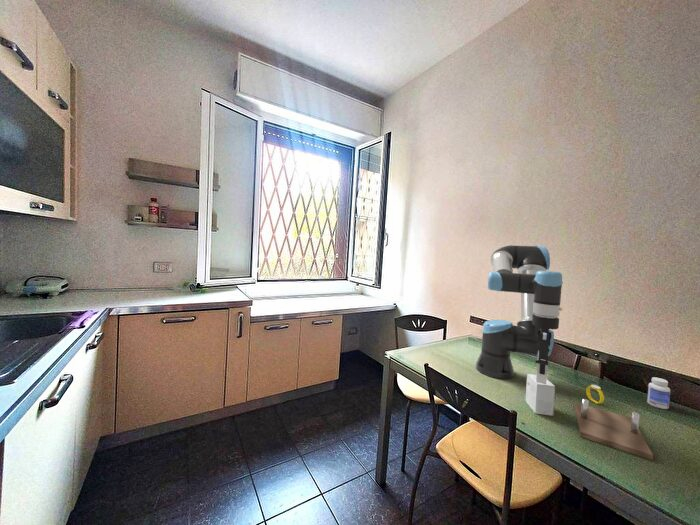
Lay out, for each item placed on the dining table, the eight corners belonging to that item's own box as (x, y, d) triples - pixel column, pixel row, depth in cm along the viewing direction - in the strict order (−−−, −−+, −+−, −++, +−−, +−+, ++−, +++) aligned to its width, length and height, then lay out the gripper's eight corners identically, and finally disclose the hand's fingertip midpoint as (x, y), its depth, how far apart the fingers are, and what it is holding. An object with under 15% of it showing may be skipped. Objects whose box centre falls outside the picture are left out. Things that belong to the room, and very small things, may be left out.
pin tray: (580, 436, 82) (582, 412, 82) (574, 406, 99) (575, 385, 98) (652, 460, 74) (655, 433, 73) (632, 422, 90) (634, 400, 90)
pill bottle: (672, 411, 98) (675, 384, 97) (653, 407, 100) (655, 381, 99) (661, 402, 103) (664, 377, 102) (643, 399, 105) (645, 375, 104)
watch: (604, 406, 100) (607, 391, 99) (597, 406, 99) (600, 391, 99) (590, 396, 105) (592, 382, 105) (583, 396, 105) (585, 382, 105)
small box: (553, 416, 92) (555, 386, 91) (534, 413, 93) (537, 384, 93) (541, 403, 100) (544, 375, 99) (524, 401, 101) (527, 373, 100)
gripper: (561, 324, 82) (556, 393, 83) (557, 311, 103) (553, 366, 104) (531, 320, 86) (526, 385, 87) (533, 308, 107) (529, 361, 108)
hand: (541, 375), depth 96 cm, fingers open, 13 cm apart
